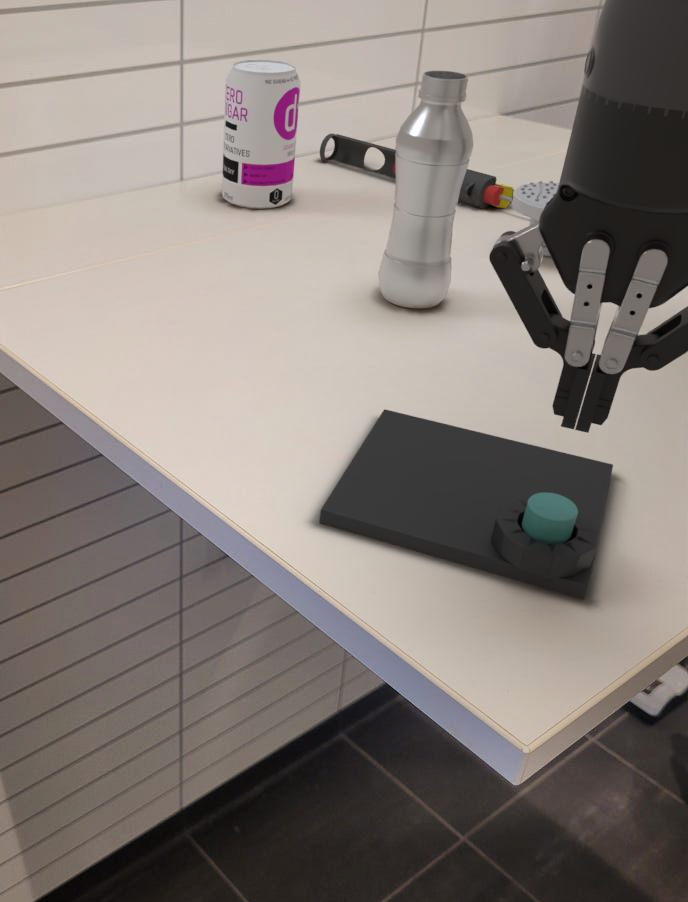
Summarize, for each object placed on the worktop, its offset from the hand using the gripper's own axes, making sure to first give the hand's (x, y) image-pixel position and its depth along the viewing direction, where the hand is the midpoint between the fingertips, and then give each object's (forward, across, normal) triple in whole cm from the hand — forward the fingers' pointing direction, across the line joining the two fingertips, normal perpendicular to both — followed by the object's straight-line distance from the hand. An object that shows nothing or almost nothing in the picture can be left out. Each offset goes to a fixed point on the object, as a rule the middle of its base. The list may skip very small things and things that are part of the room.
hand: (575, 422), depth 51 cm
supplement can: (+10, +41, -54) cm, 69 cm away
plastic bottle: (+10, +17, -34) cm, 40 cm away
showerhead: (+10, +7, -54) cm, 55 cm away
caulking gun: (+10, +21, -70) cm, 73 cm away
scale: (+10, +5, -4) cm, 12 cm away
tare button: (+7, 0, 0) cm, 7 cm away
